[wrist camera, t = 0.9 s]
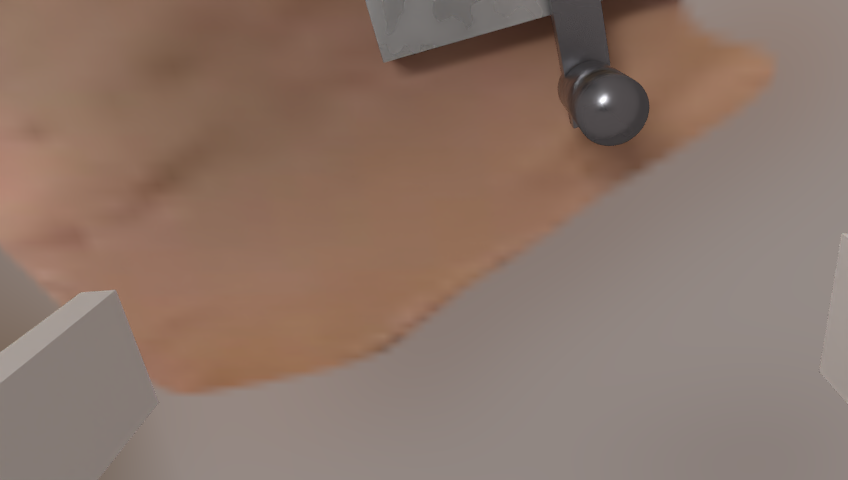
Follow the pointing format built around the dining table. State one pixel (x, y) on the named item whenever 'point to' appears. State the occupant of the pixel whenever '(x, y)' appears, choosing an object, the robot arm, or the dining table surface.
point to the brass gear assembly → (594, 76)
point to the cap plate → (443, 21)
